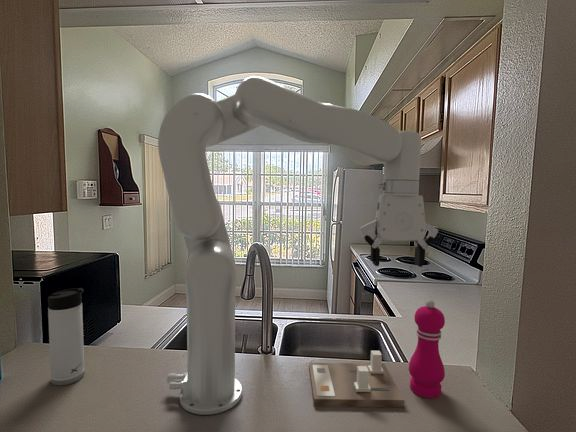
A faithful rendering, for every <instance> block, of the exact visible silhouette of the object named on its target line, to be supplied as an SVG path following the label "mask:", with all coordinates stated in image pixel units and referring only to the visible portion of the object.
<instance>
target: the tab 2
mask: <svg viewBox="0 0 576 432" xmlns="http://www.w3.org/2000/svg"><path fill="white" fill-rule="evenodd" d="M382 359H383V355H382V352H381V351H380V350H370V359H369V361H370V363H369V364H370V365H368V369H369V372H370V373H377V374H384V371H383V369H382V367H381V364H383V363H382V361H383V360H382Z"/></svg>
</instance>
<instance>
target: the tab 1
mask: <svg viewBox="0 0 576 432" xmlns="http://www.w3.org/2000/svg"><path fill="white" fill-rule="evenodd" d="M368 382H369V370H368V368H367V366H357V382H354V387H355V390H356V392H371V388H370V386H369V383H368Z"/></svg>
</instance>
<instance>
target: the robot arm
mask: <svg viewBox="0 0 576 432" xmlns="http://www.w3.org/2000/svg"><path fill="white" fill-rule="evenodd" d="M261 126H263V127H265V128H268V129H271V130H274V131H275V132H279V133H281V134H283V135H286V136H288V137H290V138H293V139H295V140H298V141H301V142H304V143H309V144H327V145H332V146H333V145H334V146H339V147H342V148H345V149H346V153H347V157H348V158H349V160H351V162H353V163H354V164H357V165H360V166H371V165H373V166H374V165H383V180H382V182H380V183H379V182H377V183H376V189H377V190H379V191H381V193H382V194H379V198H378V202H377V206H376V211H375V212H376V213H375V219H374V220H372V221H370V222H367V223H366V224H364V225H362V226H360V227H359V232H360V233H361V236H362V238H363V240H364V241H365V242H366V243H367V244H368V245H369V246H370V262H372V264H373V266H375V267H379V266H380V258H381V257H380V253H381V252H380V251H381V249H380V248H379V246H380V245H381V243H383V241H388V242H389V241H391V242H392V241H394V242H414V243H415V244H416V246H415V247H414V259H413V260H414V262H413V264H414V265H416V266H417V267H421V268H422V267H423V265H424V263H425V258H426V257H425V256H426V249H428V247H429V246H430V245H431V244H432V243H433V242H434V239H435V238H436V236H437V234H438V233H439V229H438V228H437V227H435V226H434V225H432V224H429V223H427V222H426V215H425V213H426V211H425V205H424V197H423V195H419V193H420V191H419V190H420V189H419V188H420V173H421V172H420V170H421V155H422V154H421V153H422V152H421V151H422V150H421V149H422V135H421V134H420V133H419V132H417V131H414V130H398V129H397V128H396V127H394V126H393V125H392V124H391V123H389V122H387V121H385V120H382V119H381V118H379V117H376V116H374V115H373V114H369V113H367V112H364V111H361V110H358V109H354V108H351V107H346V106H341V105H336V104H331V103H327V102H322V101H319V100H316V99H313V98H311V97H310V96H306V95H304V94H303V93H300V92H297V91H295V90H292V89H290V88H288V87H286V86H283V85H281V84H278V82H275V81H272V80H270V79H267V78H265V77H262V76H256V75H252V76H249V77H246V78H245V79H243V80H242V81H240V84H239V85H238V86H237V88H236V90H235V93H234V94H233V95H230V96H228V97H225V98H223V99H220V100H218V101H217V100H215V99H214V98H213V97H212V96H209V95H207V94H206V93H200V92H199V93H191V94H188V95H186V96H184V97H182V98H180V99H179V100H178V101H177V102H175V103H174V104H173V105H172V106H171V107H170V108H169V110H168V111H167V113H166V114H165V115H164V117H163V120H162V121H161V123H160V128H159V130H158V131H159V132H158V138H157V139H158V140H157V141H158V142H157V148H158V156H159V161H160V165H161V168H162V172H163V178H164V182H165V187H166V190H167V195H168V198H169V202H170V206H171V211H172V216H173V220H174V224H175V226H176V229H177V230H178V232H180V234H182V235H183V240H184V244H185V247H186V250H187V254H188V260H187V263H186V266H185V279H184V280H185V297H186V299H185V300H186V327H187V328H186V335H187V336H186V341H187V342H186V347H187V349H186V350H187V353H186V354H187V355H186V356H187V357H186V358H187V365H186V366H187V367H186V368H187V371H185V372H183V373H168V375H167V377H166V378H167V379H166V383H167V384H169V386H168V388H169V390H180V393H179V403H180V406H181V407H182V408H183V409H184V410H185V411H186V412H189V413H192V414H195V415H203V416H205V415H208V416H210V415H215V414H221V413H223V412H226V411H228V410H229V409H231V408H233V407H235V406H236V405H237V404H238V403H239V402H240V400H241V399H242V396H243V386H242V384H241V382H240V381H239V379H237V378H236V376H235V373H236V364H235V363H236V291H237V289H236V288H237V263H236V260H235V256H234V253H233V250H232V246H231V242H230V238H229V234H228V231H227V226H226V223H225V220H224V215H223V211H222V206H221V204H220V202H219V201H218V199H217V196H216V193H215V189H214V185H213V182H212V178H211V173H210V167H209V165H208V160H207V153H206V150H207V148H208V147H213V146H216V145H218V144H220V143H221V144H222V143H223V142H226V141H229V140H230V139H233V138H236V137H238V136H242V135H243V134H246V133H248V132H250V131H253V130H254V129H256V128H259V127H261ZM372 229H374V236H373V238H372V237H371V236H370V234H369V231H371V230H372ZM426 231H428V233H427V235H426Z"/></svg>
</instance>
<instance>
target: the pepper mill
mask: <svg viewBox="0 0 576 432" xmlns="http://www.w3.org/2000/svg"><path fill="white" fill-rule="evenodd" d="M435 305H436V304H435V301H434V300H432V299H427V300H426V302H425V305H423V306H420V307H419V308H417V309H416V310H415V313H414V323H415V324H416V325H417V326H416V329H415V330H416V331H415V334H416V336H417V344H416V347H415V350H414V352H413V354H412V355H411V357H410V360H409V363H408V372H409V374H410V376H411V377H410V381H409V388H410V390H411V391H412V392H413V393H414V394H415V395H418V396H420V397H423V398H426V399H437V398H439V397H440V396H441V394H442V382H443V381H444V379H445V374H446V373H445V366H444V363H443V361H442V358H441V355H440V349H439V343H440V340H441V339H442V331H441V329H443V328H444V326H445V324H446V320H445V319H446V318H445V315H444V313H443V312H442V311H441V310H440V309H439V308H437V307H435Z"/></svg>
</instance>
